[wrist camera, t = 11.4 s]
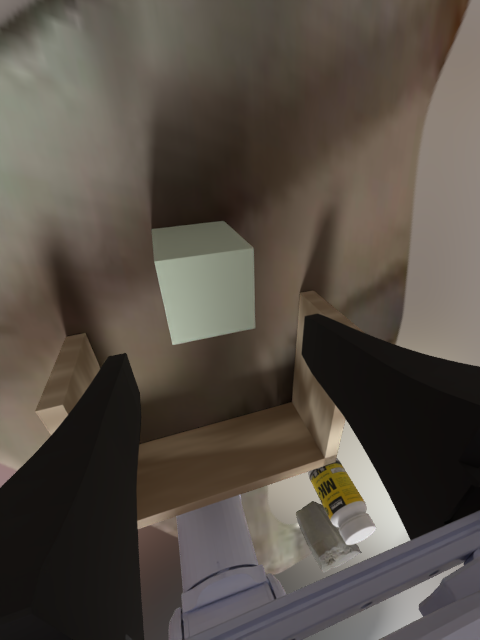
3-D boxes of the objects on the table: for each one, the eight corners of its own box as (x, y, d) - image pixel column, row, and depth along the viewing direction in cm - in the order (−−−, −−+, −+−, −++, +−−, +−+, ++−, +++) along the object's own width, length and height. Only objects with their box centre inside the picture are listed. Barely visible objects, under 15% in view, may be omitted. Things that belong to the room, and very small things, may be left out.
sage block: (228, 284, 20) (255, 328, 15) (165, 295, 19) (172, 345, 14) (223, 220, 18) (253, 247, 13) (151, 228, 17) (154, 261, 12)
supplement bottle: (317, 455, 37) (358, 526, 30) (344, 455, 39) (387, 521, 32) (301, 478, 38) (335, 550, 32) (327, 476, 40) (364, 543, 34)
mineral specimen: (346, 498, 45) (370, 563, 39) (300, 514, 48) (316, 578, 42) (329, 489, 41) (353, 560, 35) (278, 507, 43) (293, 577, 37)
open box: (301, 406, 30) (335, 462, 25) (123, 457, 26) (118, 535, 21) (313, 290, 23) (365, 333, 17) (66, 336, 19) (35, 411, 13)
